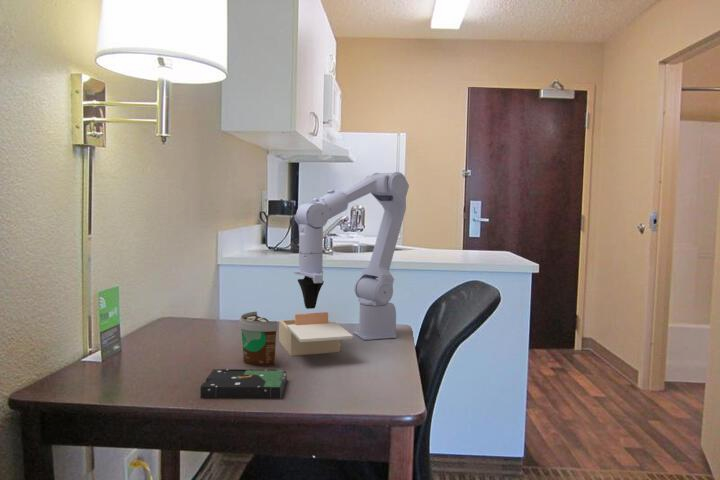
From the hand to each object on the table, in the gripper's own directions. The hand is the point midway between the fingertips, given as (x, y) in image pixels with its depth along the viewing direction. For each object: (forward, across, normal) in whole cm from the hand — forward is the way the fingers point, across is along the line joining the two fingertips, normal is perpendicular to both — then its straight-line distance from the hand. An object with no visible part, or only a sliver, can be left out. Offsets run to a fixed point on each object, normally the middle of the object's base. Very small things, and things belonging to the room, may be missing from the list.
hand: (310, 308), depth 131 cm
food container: (+10, +8, -15) cm, 20 cm away
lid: (+4, +8, 0) cm, 9 cm away
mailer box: (+10, -1, 0) cm, 10 cm away
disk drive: (+10, +25, -19) cm, 33 cm away
